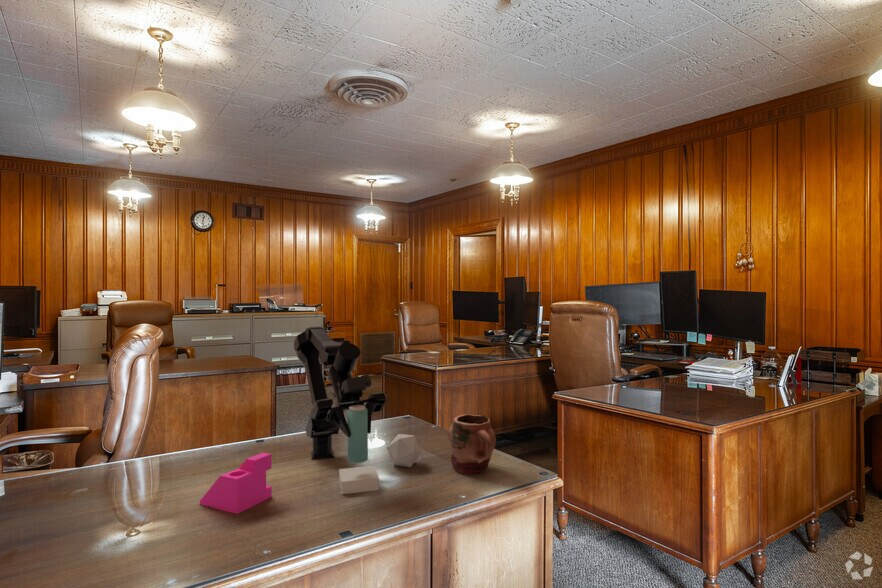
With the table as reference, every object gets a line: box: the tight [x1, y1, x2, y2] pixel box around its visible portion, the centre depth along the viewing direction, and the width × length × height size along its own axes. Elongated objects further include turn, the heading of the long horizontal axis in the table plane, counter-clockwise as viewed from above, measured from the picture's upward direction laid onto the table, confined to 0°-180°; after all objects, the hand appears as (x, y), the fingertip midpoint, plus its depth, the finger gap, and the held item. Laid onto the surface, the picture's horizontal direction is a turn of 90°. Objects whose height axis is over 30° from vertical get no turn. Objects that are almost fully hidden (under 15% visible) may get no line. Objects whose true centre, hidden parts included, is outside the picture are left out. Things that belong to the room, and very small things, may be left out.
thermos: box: [346, 405, 369, 464], centre depth 126 cm, size 5×5×13 cm
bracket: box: [199, 452, 273, 514], centre depth 118 cm, size 12×10×10 cm
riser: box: [338, 465, 380, 495], centre depth 126 cm, size 9×9×3 cm
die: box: [386, 433, 422, 468], centre depth 141 cm, size 8×9×10 cm
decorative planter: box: [447, 413, 497, 475], centre depth 136 cm, size 20×12×14 cm, turn 29°
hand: (359, 434), depth 125 cm, fingers closed on thermos, 5 cm apart
